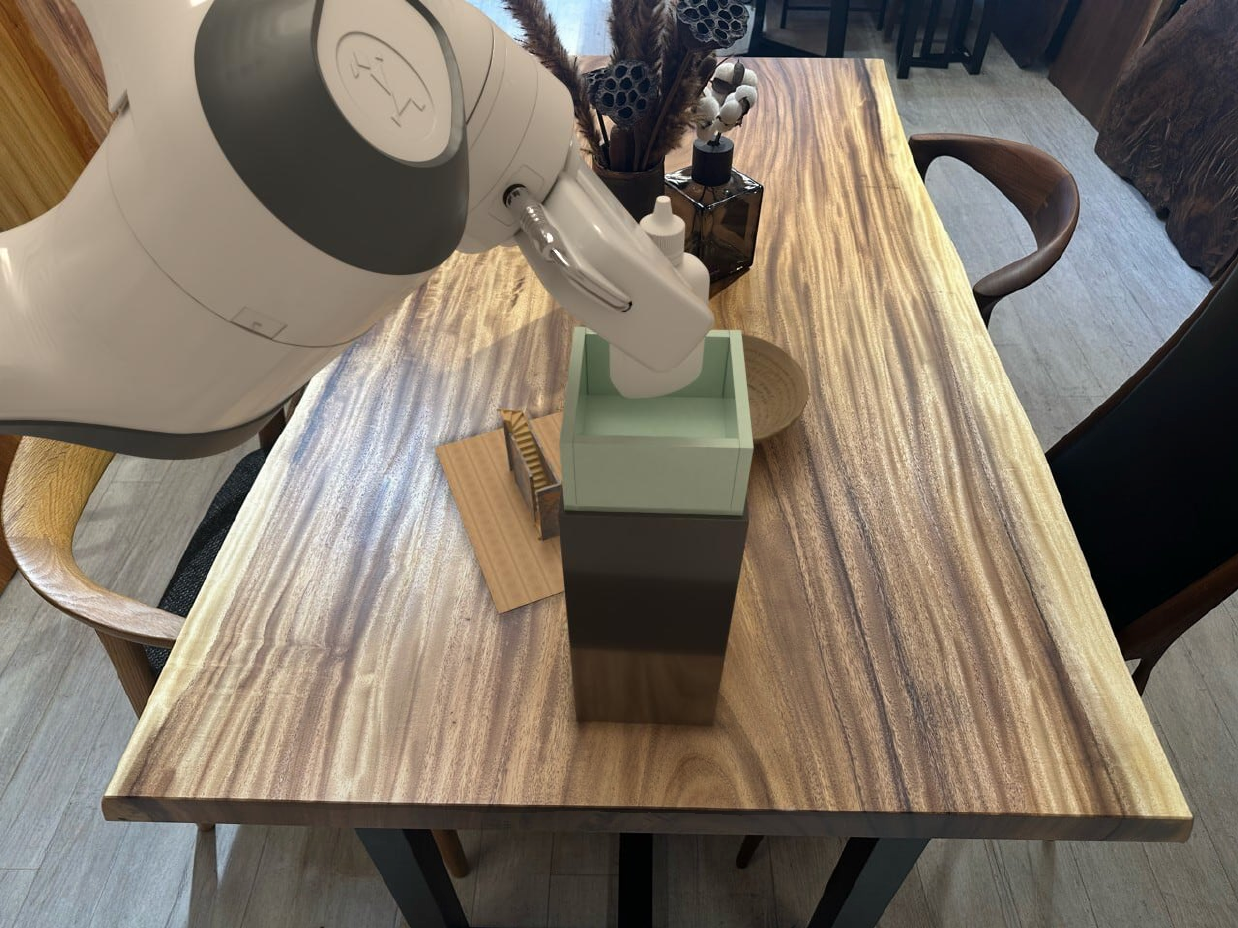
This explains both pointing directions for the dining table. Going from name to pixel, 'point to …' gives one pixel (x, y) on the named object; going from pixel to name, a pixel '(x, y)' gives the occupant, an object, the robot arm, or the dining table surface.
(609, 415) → the square pedestal with tray
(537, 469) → the ruin model on sheet
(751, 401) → the bowl
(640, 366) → the eye dropper bottle
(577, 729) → the dining table surface
